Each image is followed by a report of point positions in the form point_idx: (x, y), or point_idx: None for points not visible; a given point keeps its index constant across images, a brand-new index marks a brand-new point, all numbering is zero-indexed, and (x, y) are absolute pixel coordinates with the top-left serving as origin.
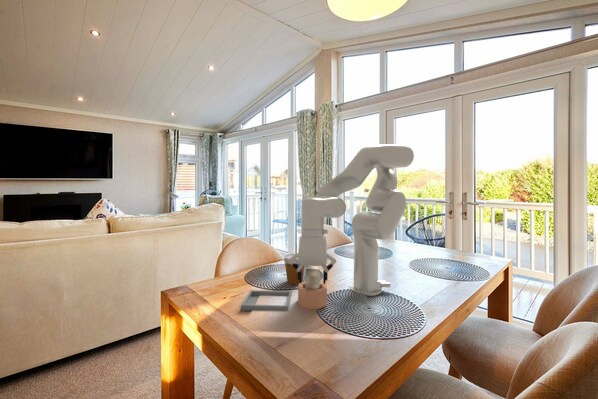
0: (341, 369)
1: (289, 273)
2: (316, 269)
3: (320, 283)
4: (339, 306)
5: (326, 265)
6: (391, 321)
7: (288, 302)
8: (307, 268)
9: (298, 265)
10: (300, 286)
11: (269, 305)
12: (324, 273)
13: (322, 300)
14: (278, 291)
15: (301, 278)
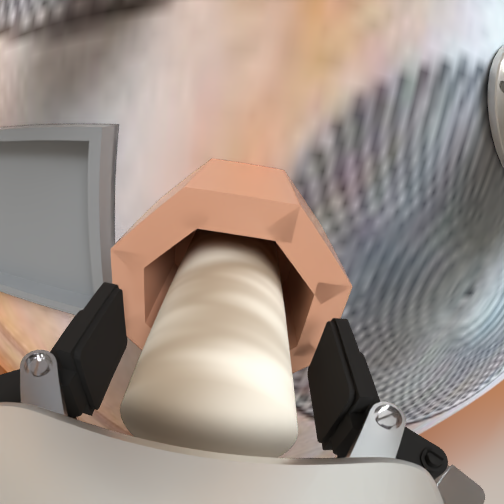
0: None
1: None
2: (255, 441)
3: (304, 269)
4: (373, 270)
5: (393, 453)
6: (461, 368)
7: (100, 284)
8: (140, 407)
9: (23, 392)
10: (129, 308)
11: (37, 299)
12: (325, 444)
13: None
14: (34, 135)
15: (115, 364)
